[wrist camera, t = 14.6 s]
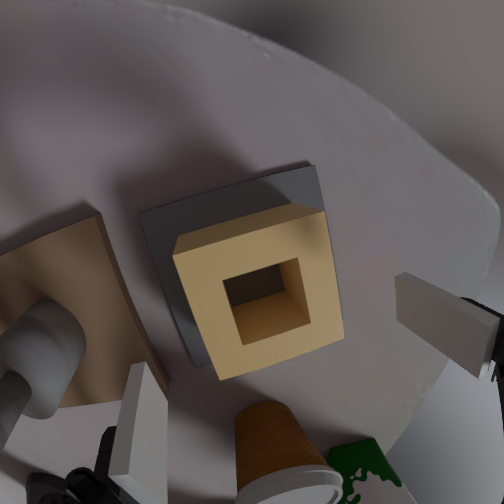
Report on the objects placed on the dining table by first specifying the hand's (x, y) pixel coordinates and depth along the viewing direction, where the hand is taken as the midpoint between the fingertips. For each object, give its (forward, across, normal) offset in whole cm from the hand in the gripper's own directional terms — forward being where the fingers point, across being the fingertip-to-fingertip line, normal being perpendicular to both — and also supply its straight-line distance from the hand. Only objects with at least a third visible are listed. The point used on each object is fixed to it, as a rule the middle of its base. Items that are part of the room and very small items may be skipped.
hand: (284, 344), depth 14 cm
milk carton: (+11, +7, -32) cm, 34 cm away
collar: (+10, 0, 0) cm, 10 cm away
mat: (+11, +1, 0) cm, 11 cm away
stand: (+11, -17, 0) cm, 21 cm away
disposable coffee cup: (+11, -2, -17) cm, 20 cm away
